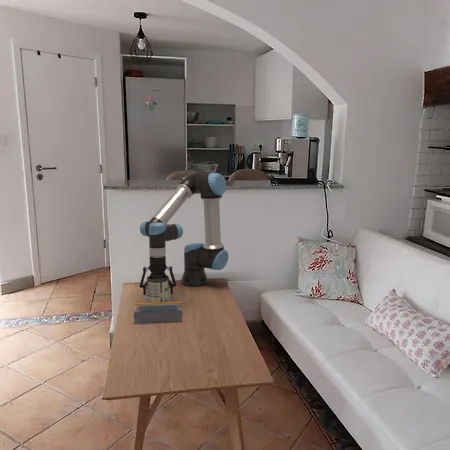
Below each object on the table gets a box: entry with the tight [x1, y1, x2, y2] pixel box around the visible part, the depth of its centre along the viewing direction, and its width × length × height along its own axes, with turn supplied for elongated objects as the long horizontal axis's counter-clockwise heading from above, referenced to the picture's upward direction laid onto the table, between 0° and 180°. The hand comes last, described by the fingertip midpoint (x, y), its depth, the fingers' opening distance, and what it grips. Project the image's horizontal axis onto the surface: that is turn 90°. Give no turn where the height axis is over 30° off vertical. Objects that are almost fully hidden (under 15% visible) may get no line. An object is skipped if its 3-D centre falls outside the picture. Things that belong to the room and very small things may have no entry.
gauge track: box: [133, 304, 183, 324], centre depth 200 cm, size 21×18×5 cm
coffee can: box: [146, 275, 170, 303], centre depth 205 cm, size 10×10×14 cm
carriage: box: [133, 301, 183, 313], centre depth 200 cm, size 22×3×5 cm, turn 98°
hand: (158, 300), depth 206 cm, fingers closed on coffee can, 10 cm apart
